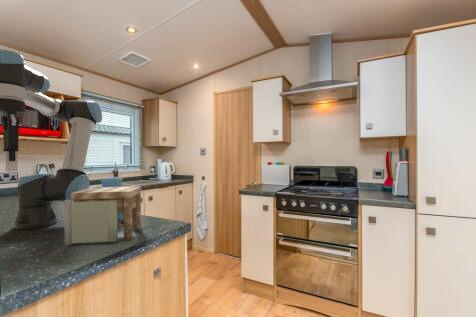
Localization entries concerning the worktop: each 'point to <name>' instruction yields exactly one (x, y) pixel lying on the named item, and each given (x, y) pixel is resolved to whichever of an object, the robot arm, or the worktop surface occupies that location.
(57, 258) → the worktop surface
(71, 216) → the pale green flat panel
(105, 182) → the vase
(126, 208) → the stool
